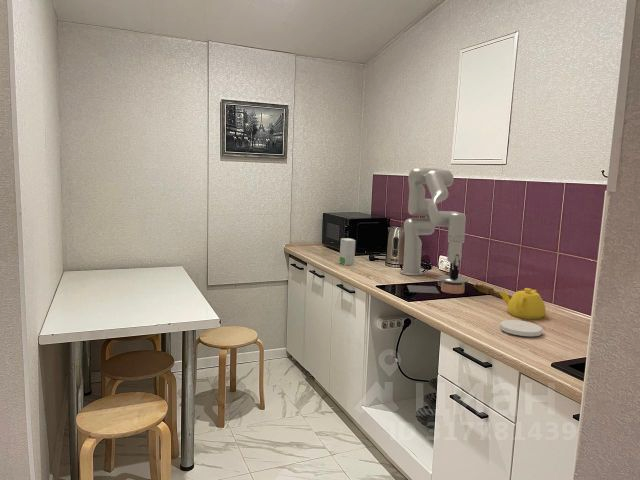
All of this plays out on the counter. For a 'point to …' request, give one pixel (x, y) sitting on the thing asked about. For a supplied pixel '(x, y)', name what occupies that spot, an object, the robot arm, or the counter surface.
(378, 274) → the counter surface
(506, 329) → the plastic lid
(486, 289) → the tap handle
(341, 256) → the white cylinder
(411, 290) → the mat
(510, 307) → the teapot
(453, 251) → the robot arm
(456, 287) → the bowl
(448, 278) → the lid
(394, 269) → the counter surface
